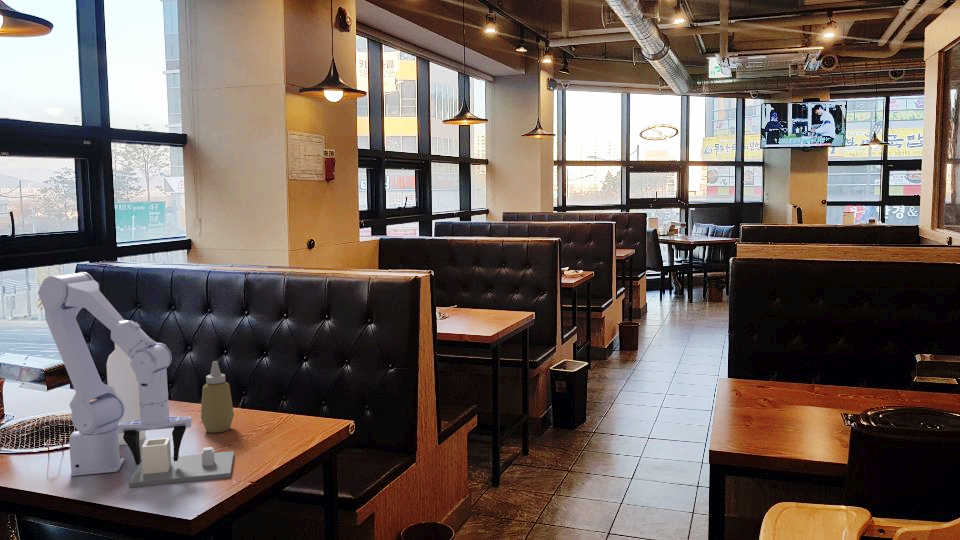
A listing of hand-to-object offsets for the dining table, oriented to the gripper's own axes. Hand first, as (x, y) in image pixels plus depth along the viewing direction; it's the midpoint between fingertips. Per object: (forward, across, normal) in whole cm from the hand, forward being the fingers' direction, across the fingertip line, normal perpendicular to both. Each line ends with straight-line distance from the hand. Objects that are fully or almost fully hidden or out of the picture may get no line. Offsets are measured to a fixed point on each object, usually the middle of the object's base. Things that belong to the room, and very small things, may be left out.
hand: (157, 461), depth 160 cm
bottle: (+3, -11, +26) cm, 28 cm away
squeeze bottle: (+3, +10, +28) cm, 30 cm away
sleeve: (+2, 0, 0) cm, 2 cm away
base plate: (+3, +5, 0) cm, 6 cm away
